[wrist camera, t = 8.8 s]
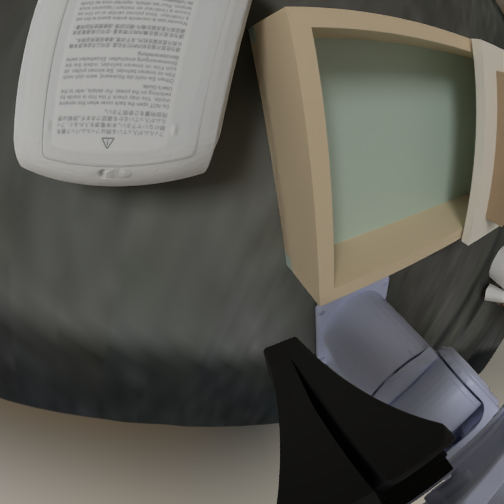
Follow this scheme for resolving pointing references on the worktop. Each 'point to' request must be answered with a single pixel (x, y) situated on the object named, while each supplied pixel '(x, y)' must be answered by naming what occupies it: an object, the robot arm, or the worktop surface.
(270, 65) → the box
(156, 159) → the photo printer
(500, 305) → the white wood-trimmed shelf
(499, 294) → the fire extinguisher
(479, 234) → the sliding box lid
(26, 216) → the worktop surface
